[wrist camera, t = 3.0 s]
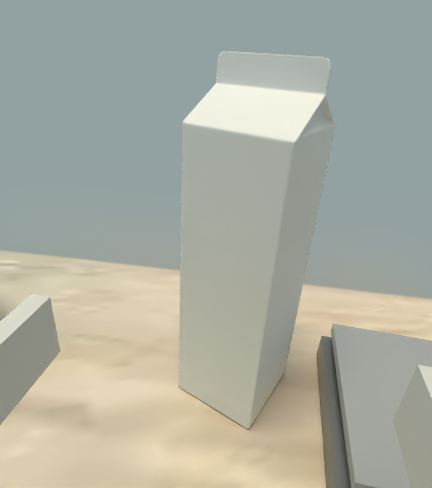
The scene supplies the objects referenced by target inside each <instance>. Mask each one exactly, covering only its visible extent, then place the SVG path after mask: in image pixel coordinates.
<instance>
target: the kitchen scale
mask: <svg viewBox="0 0 432 488" xmlns="http://www.w3.org/2000/svg"><path fill="white" fill-rule="evenodd" d="M331 336H332V338H330V337H325V336H321V340H320V344H319V348H318V352H317V362H318V376H319V390H320V404H321V418H322V432H323V446H324V460H325V474H326V488H411V485H410V481H409V477H408V474H407V470H406V466H405V463H404V459H403V455H402V452H401V448H400V444H399V441H398V437H397V433H396V430H395V426H394V422H393V419H394V416H395V414H396V412H397V410H398V407H399V405H400V403H401V401H402V399H403V396H404V394H405V392H406V390H407V388H408V385H409V383H410V381H411V379H412V377H413V374H414V372H415V370H416V368H417V365H422V366H428V367H432V341H430V340H424V339H418V338H412V337H406V336H401V335H395V334H389V333H383V332H377V331H372V330H366V329H360V328H354V327H348V326H343V325H337V324H333V326H332V329H331Z"/></svg>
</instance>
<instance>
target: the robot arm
mask: <svg viewBox="0 0 432 488" xmlns="http://www.w3.org/2000/svg"><path fill="white" fill-rule="evenodd" d="M59 352H60V347H59V342H58V336H57V331H56V326H55V321H54V316H53V310H52V305H51V300H50V297H46V296H41V295H35V294H31V295H30V296H29V297H28V298H26V299H25V300H24V301H23V302H22V303H21V304H20V305H18V306H17V307H16V308H15V309H14V310H13V311H12V312H10V313H9V314H8V315H7V316H6V317H5V318H4V319H2V320H1V321H0V425H1V423H2V422H3V421H4V420H5V418H6V417H7V416H8V415H9V414H10V412H11V411H12V410H13V409H14V407H15V406H16V405H17V404H18V403H19V401H20V400H21V399H22V398H23V396H24V395H25V394H26V393H27V391H28V390H29V389H30V388H31V387H32V385H33V384H34V383H35V382H36V380H37V379H38V378H39V377H40V376H41V374H42V373H43V372H44V371H45V369H46V368H47V367H48V366H49V365H50V363H51V362H52V361H53V360H54V358H55V357H56V356H57V355H58V353H59ZM393 422H394V426H395V430H396V433H397V437H398V441H399V444H400V448H401V452H402V455H403V459H404V463H405V466H406V470H407V474H408V477H409V481H410V485H411V488H432V367H428V366H422V365H417V368H416V370H415V372H414V374H413V377H412V379H411V381H410V383H409V385H408V388H407V390H406V392H405V394H404V396H403V399H402V401H401V403H400V405H399V407H398V410H397V412H396V414H395V416H394V419H393Z"/></svg>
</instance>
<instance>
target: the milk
mask: <svg viewBox="0 0 432 488" xmlns="http://www.w3.org/2000/svg"><path fill="white" fill-rule="evenodd" d="M330 71H331V62H330V60H329V59H328V58H326V57H315V56H298V55H281V54H263V53H245V52H227V51H224V52H221V53H220V54H219V57H218V62H217V79H216V84H215V85H214V86H213V88H212V89H211V90H210V91H209V92H208V93H207V94H206V96H205V97H204V98H203V99H202V100H201V101H200V102H199V104H198V105H197V106H196V107H195V108H194V109H193V110H192V112H191V113H190V114H189V115H188V116H187V117H186V118H185V120H184V121H183V132H182V199H181V202H182V203H181V267H180V335H179V387H180V388H182V389H183V390H185V391H186V392H188V393H190V394H191V395H193V396H195V397H196V398H198V399H199V400H201V401H203V402H204V403H206V404H208V405H209V406H211V407H212V408H214V409H216V410H217V411H219V412H221V413H222V414H224V415H225V416H227V417H229V418H230V419H232V420H234V421H235V422H237V423H238V424H240V425H242V426H243V427H245V428H247V429H249V428H250V427H251V425H252V424H253V422H254V421H255V419H256V417H257V416H258V414H259V413H260V411H261V409H262V408H263V406H264V405H265V403H266V401H267V400H268V398H269V397H270V395H271V393H272V392H273V390H274V389H275V387H276V385H277V384H278V382H279V381H280V379H281V378H282V376H283V374H284V372H285V367H286V362H287V358H288V353H289V348H290V343H291V339H292V334H293V329H294V324H295V319H296V315H297V310H298V305H299V300H300V296H301V291H302V286H303V281H304V276H305V271H306V267H307V262H308V257H309V252H310V248H311V243H312V238H313V233H314V229H315V224H316V219H317V214H318V210H319V204H320V200H321V195H322V190H323V186H324V181H325V176H326V172H327V167H328V162H329V157H330V152H331V148H332V143H333V138H334V133H335V128H336V125H335V121H334V118H333V115H332V112H331V109H330V106H329V103H328V100H327V97H326V93H327V87H328V82H329V76H330Z"/></svg>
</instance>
